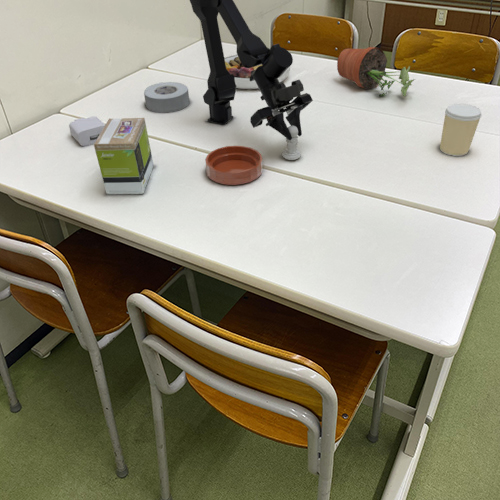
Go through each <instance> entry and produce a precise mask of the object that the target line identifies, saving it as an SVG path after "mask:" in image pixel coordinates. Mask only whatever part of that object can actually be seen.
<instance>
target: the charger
mask: <svg viewBox="0 0 500 500" xmlns="http://www.w3.org/2000/svg"><path fill="white" fill-rule="evenodd" d="M105 124H106V123H104V122H103V121H102V119H100V118H98V116H95V115H93V116H89V117H86V118H85V117H80V118H76V119H74V120H73V121H71V122H70V123H69V124H68V127H69V130H70V131H69V132H70V134H71V136H72V137H73V138H74V139H75V140H76V142H77V143H78V144H79V145H80V146H82V147H87V146H91V145H94V143H95V142H96V140H97V138H98V136H99V135H100V133H101V131H102V130H103V128H104V126H105Z"/></svg>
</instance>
